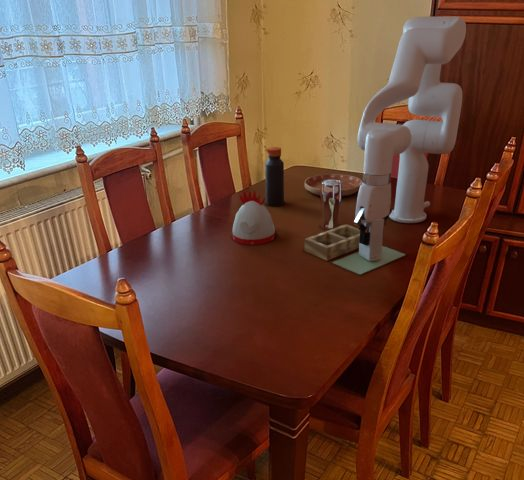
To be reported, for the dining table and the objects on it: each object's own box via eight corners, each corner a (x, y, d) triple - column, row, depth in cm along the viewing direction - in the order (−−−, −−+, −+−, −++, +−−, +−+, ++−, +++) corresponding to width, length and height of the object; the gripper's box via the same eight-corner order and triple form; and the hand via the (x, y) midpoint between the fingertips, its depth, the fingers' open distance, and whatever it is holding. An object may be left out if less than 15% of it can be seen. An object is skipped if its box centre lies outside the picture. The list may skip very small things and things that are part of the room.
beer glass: (339, 231, 179) (341, 185, 171) (318, 230, 181) (319, 185, 172) (340, 223, 185) (343, 179, 177) (320, 222, 186) (321, 178, 178)
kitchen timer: (238, 227, 185) (236, 183, 176) (278, 229, 182) (277, 184, 174) (228, 243, 173) (225, 197, 165) (270, 245, 171) (269, 198, 162)
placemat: (377, 244, 169) (377, 243, 169) (405, 255, 162) (406, 254, 162) (332, 263, 159) (332, 262, 159) (360, 275, 152) (360, 274, 151)
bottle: (287, 202, 205) (287, 147, 194) (278, 207, 200) (277, 151, 189) (271, 199, 208) (271, 145, 197) (262, 204, 203) (261, 149, 192)
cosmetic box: (381, 259, 158) (386, 219, 152) (368, 262, 157) (372, 221, 150) (369, 251, 163) (373, 212, 157) (356, 254, 162) (360, 214, 155)
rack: (345, 235, 176) (346, 224, 174) (368, 244, 170) (369, 232, 167) (304, 251, 167) (304, 238, 164) (326, 260, 160) (327, 248, 158)
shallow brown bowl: (300, 183, 224) (300, 174, 222) (354, 180, 226) (354, 171, 224) (310, 201, 205) (310, 191, 203) (369, 197, 207) (369, 188, 205)
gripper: (386, 169, 154) (380, 230, 164) (344, 182, 145) (341, 245, 155) (407, 175, 149) (400, 237, 159) (365, 188, 140) (360, 253, 150)
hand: (371, 240), depth 157 cm, fingers closed on cosmetic box, 5 cm apart
